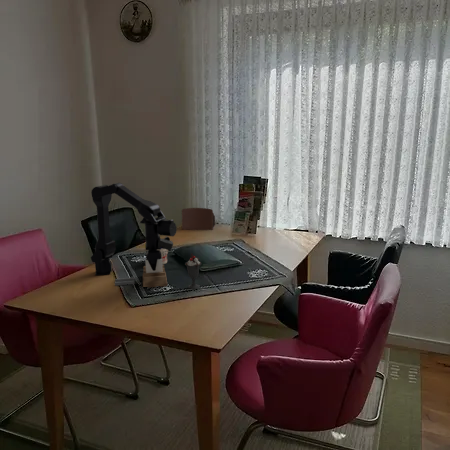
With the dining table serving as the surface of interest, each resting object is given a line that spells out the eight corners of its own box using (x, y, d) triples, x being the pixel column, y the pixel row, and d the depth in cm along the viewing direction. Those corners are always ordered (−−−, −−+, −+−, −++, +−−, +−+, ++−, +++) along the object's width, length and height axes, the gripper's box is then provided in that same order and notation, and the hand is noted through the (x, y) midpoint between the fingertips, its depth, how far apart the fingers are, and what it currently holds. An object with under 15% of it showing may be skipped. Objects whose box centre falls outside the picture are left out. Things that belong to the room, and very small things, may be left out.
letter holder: (213, 230, 267) (212, 208, 264) (182, 229, 269) (181, 207, 266) (215, 226, 277) (214, 205, 273) (185, 226, 279) (184, 204, 276)
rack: (143, 287, 175) (142, 278, 174) (142, 275, 189) (142, 266, 188) (167, 285, 177) (167, 276, 176) (165, 273, 191) (165, 264, 190)
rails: (114, 285, 178) (114, 282, 177) (115, 281, 182) (115, 279, 182) (134, 284, 179) (134, 281, 179) (134, 280, 184) (134, 277, 183)
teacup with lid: (159, 266, 200) (157, 243, 197) (144, 263, 205) (143, 240, 202) (175, 259, 210) (174, 237, 207) (161, 257, 215) (160, 234, 212)
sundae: (189, 291, 171) (188, 255, 167) (183, 285, 177) (181, 251, 173) (204, 288, 174) (203, 252, 170) (197, 282, 180) (196, 248, 176)
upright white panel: (146, 275, 180) (145, 261, 179) (146, 273, 183) (145, 259, 181) (163, 274, 182) (162, 259, 180) (162, 272, 184) (162, 258, 183)
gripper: (173, 238, 171) (174, 275, 174) (170, 227, 188) (171, 261, 192) (144, 240, 169) (147, 277, 172) (144, 229, 186) (146, 263, 190)
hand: (154, 269), depth 182 cm, fingers closed on upright white panel, 2 cm apart
